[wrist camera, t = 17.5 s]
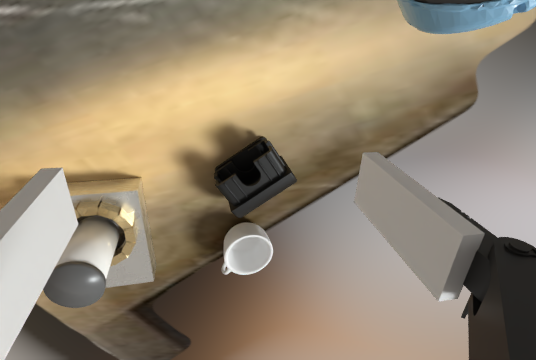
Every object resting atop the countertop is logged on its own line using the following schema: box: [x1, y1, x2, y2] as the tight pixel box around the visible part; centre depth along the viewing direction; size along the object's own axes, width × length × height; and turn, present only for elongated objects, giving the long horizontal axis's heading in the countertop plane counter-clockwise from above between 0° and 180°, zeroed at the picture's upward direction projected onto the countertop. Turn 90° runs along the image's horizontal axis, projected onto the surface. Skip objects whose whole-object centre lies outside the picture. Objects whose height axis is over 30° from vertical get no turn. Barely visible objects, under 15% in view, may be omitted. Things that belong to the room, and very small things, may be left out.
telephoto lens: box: [43, 217, 119, 308], centre depth 40 cm, size 6×6×10 cm
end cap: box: [214, 137, 297, 218], centre depth 47 cm, size 10×7×7 cm
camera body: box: [67, 177, 156, 288], centre depth 46 cm, size 16×12×6 cm
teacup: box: [222, 222, 273, 275], centre depth 53 cm, size 10×8×5 cm
